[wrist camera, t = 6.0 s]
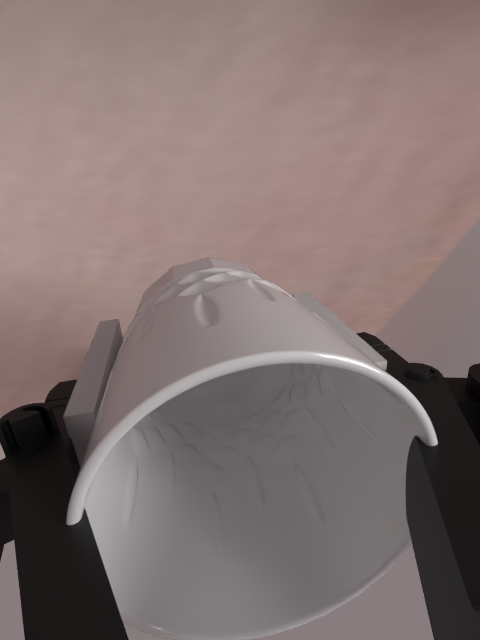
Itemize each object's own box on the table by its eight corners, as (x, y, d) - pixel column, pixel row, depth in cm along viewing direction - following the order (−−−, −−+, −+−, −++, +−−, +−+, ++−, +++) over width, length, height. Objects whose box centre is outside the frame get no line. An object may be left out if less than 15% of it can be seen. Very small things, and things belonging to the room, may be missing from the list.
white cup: (201, 434, 19) (240, 681, 10) (76, 328, 16) (-35, 551, 7) (326, 333, 18) (492, 502, 9) (221, 201, 15) (317, 258, 6)
